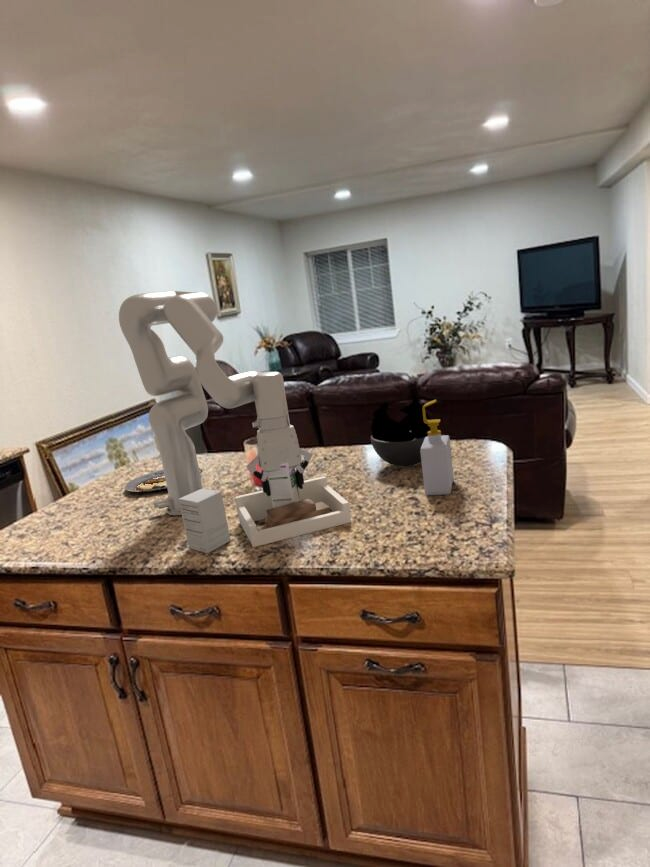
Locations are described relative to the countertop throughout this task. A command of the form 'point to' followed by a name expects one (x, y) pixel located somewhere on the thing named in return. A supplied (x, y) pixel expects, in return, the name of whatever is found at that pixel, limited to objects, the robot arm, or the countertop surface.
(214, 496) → the supplement box
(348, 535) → the countertop surface
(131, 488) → the food plate
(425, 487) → the soap bottle
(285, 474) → the syrup box
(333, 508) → the tray
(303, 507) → the offcut pile
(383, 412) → the coal bowl
